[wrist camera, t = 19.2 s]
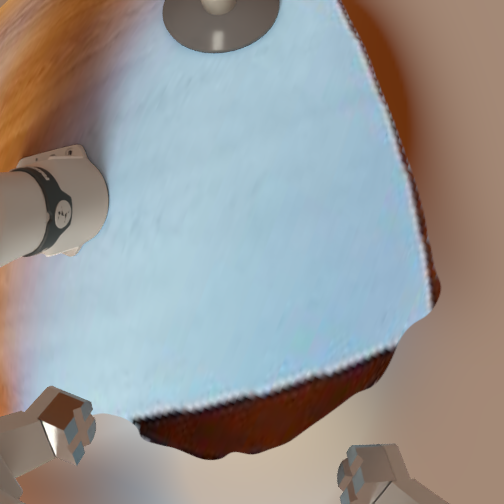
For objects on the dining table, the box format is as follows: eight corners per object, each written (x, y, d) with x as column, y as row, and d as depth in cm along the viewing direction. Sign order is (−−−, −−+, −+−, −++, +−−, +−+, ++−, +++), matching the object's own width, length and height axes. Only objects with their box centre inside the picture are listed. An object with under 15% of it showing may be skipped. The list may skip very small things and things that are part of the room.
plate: (154, 52, 40) (151, 49, 39) (178, -32, 36) (176, -36, 35) (270, 58, 40) (270, 55, 39) (285, -29, 35) (285, -33, 34)
